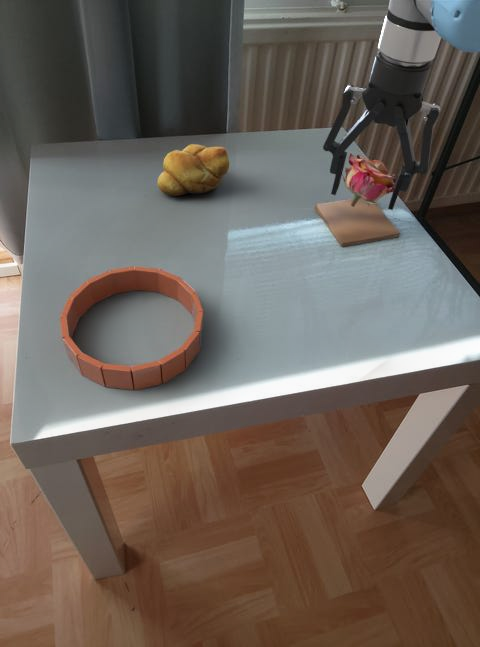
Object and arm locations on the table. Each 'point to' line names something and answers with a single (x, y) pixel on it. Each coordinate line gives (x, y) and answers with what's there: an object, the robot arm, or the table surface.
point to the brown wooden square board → (356, 222)
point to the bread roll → (193, 170)
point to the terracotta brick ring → (125, 282)
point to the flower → (368, 179)
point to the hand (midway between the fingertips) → (362, 197)
